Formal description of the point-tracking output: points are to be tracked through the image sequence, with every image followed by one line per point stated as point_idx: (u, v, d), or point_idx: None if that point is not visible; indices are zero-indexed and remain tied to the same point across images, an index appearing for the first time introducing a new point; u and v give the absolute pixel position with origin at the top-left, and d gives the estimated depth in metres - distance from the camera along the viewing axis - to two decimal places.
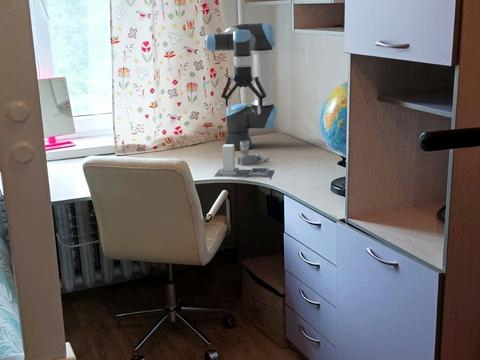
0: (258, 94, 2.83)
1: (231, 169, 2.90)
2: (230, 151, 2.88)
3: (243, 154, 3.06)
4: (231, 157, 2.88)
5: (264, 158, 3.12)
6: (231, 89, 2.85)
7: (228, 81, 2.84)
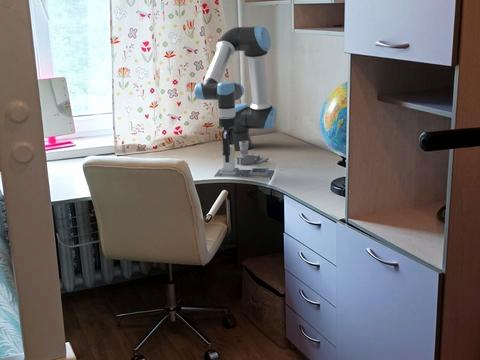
0: None
1: (231, 169, 2.90)
2: (230, 151, 2.88)
3: (242, 154, 3.06)
4: (231, 157, 2.88)
5: (264, 158, 3.12)
6: None
7: None
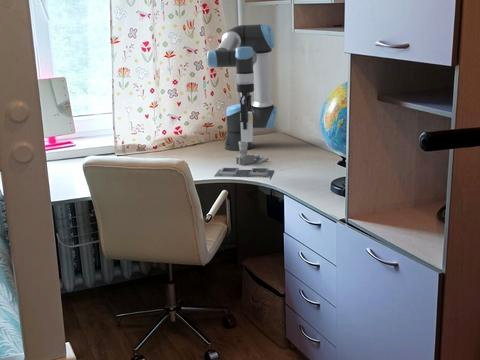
0: None
1: (249, 136, 2.84)
2: (248, 118, 2.81)
3: (241, 154, 3.06)
4: (249, 124, 2.82)
5: (263, 158, 3.11)
6: None
7: None
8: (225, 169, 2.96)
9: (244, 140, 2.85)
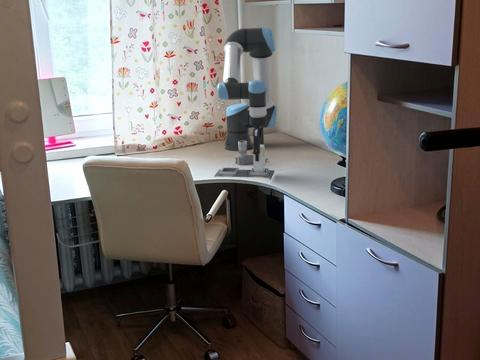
0: None
1: (261, 169, 2.87)
2: (261, 151, 2.85)
3: (240, 154, 3.06)
4: (262, 157, 2.86)
5: None
6: None
7: None
8: (225, 169, 2.96)
9: None
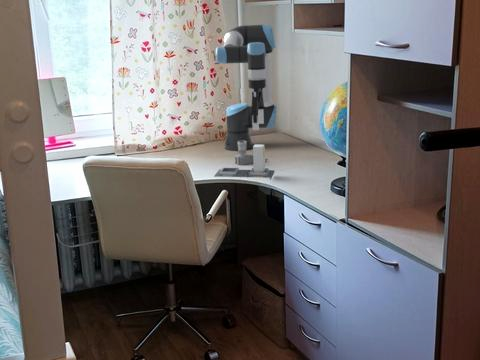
0: None
1: (261, 169, 2.87)
2: (261, 151, 2.85)
3: (240, 154, 3.06)
4: (262, 157, 2.86)
5: None
6: None
7: None
8: (225, 169, 2.96)
9: None
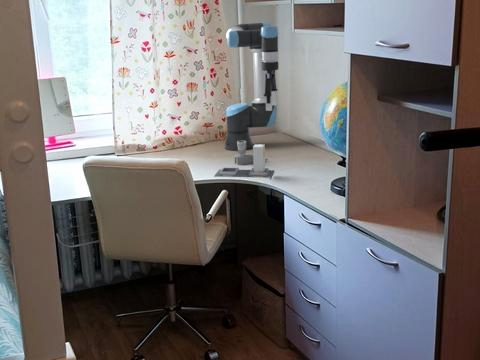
0: None
1: (261, 169, 2.87)
2: (261, 151, 2.85)
3: (239, 154, 3.07)
4: (262, 157, 2.86)
5: None
6: None
7: None
8: (225, 169, 2.96)
9: None
